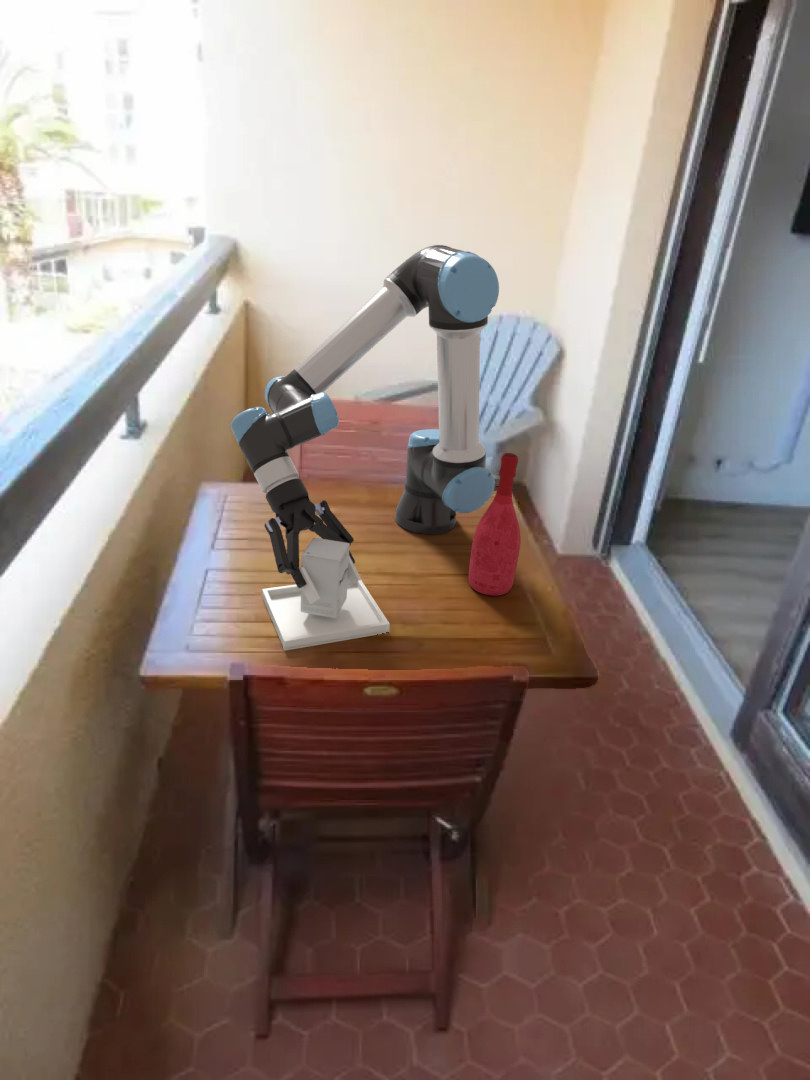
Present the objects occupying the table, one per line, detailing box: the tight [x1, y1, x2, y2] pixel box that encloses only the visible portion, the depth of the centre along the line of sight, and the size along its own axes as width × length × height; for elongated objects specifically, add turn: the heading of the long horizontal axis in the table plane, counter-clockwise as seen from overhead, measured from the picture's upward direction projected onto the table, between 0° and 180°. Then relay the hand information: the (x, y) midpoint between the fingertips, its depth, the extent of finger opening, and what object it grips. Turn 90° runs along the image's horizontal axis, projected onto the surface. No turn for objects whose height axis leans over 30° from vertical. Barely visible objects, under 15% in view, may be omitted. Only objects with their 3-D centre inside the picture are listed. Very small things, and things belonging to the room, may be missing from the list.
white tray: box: [261, 579, 391, 651], centre depth 138 cm, size 20×18×2 cm
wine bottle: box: [468, 452, 521, 596], centre depth 146 cm, size 10×10×30 cm
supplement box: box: [300, 537, 351, 618], centre depth 135 cm, size 7×7×13 cm
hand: (336, 591), depth 134 cm, fingers closed on supplement box, 10 cm apart
